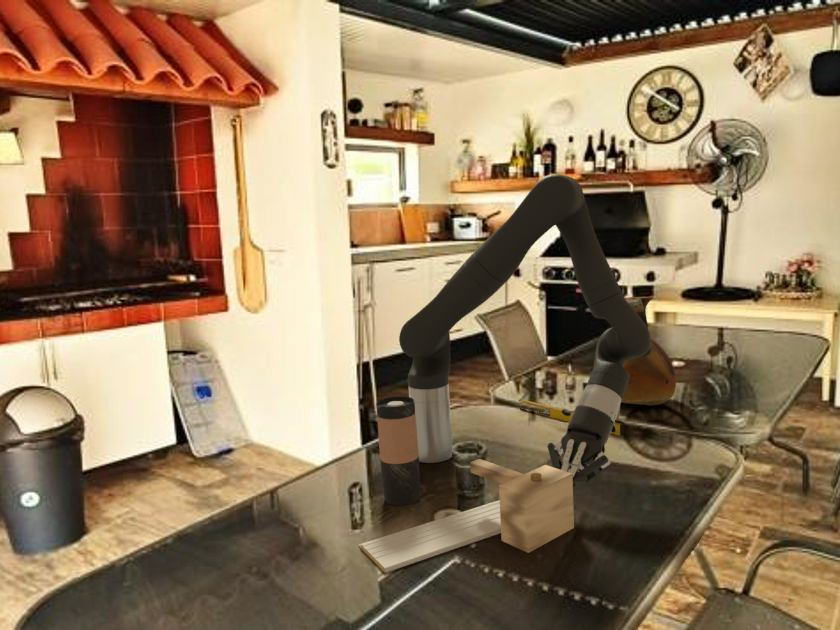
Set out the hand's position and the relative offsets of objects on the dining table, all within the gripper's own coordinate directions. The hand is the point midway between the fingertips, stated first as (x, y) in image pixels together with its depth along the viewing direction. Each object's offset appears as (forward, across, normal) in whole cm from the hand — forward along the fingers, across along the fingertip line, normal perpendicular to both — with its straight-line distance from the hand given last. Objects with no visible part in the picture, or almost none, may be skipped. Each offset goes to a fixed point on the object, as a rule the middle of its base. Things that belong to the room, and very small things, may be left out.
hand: (561, 498), depth 120 cm
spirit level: (-30, -30, +38) cm, 57 cm away
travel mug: (+11, -30, -5) cm, 32 cm away
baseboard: (+14, -14, -7) cm, 21 cm away
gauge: (+7, -6, -1) cm, 10 cm away
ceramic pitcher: (-48, -22, +54) cm, 76 cm away
